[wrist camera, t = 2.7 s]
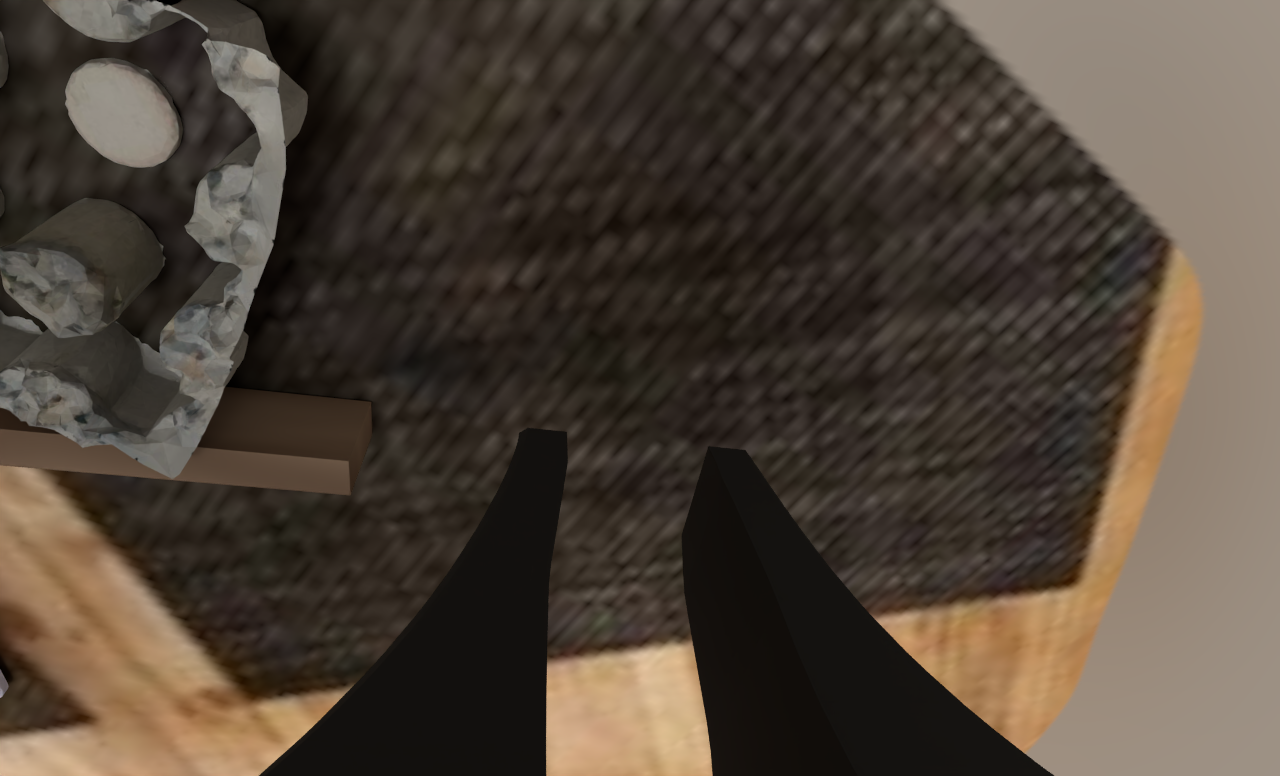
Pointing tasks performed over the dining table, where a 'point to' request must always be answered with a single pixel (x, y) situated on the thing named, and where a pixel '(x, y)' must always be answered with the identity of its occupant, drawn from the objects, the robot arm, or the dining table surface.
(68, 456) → the channel
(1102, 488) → the dining table surface
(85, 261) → the egg carton
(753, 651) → the robot arm
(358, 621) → the dining table surface
